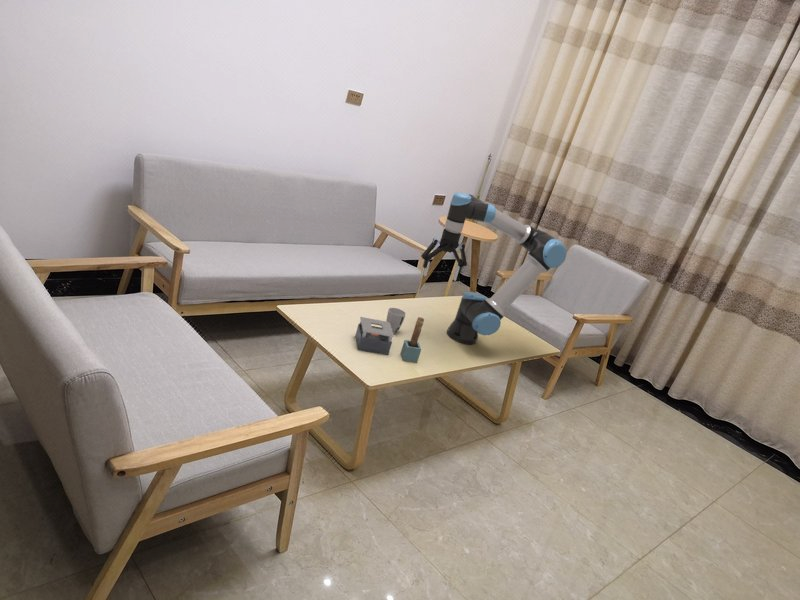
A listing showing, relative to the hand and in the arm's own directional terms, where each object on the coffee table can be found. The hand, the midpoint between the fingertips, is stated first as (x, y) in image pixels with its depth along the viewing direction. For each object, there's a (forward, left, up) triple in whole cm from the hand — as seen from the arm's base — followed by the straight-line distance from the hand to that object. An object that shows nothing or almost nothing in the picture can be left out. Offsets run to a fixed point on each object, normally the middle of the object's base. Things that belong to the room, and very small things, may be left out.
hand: (439, 277), depth 232 cm
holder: (+8, +16, -33) cm, 37 cm away
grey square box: (+23, +10, -33) cm, 41 cm away
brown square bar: (+8, +16, -32) cm, 36 cm away
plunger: (+23, +10, -30) cm, 39 cm away
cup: (+12, -8, -33) cm, 36 cm away
